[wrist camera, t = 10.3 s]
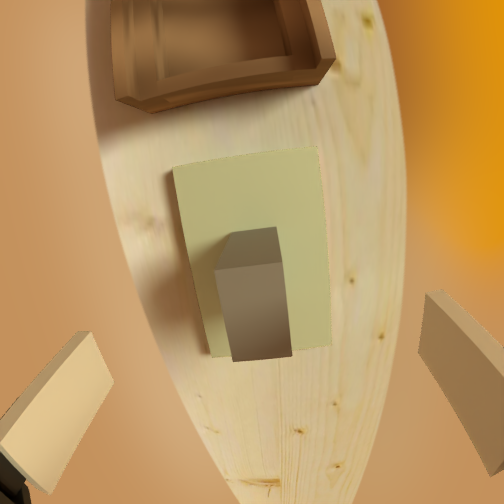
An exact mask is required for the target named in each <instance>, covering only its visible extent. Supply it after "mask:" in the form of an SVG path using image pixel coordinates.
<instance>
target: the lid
mask: <svg viewBox="0 0 504 504" xmlns="http://www.w3.org/2000/svg"><path fill="white" fill-rule="evenodd" d="M172 170H173V176H174V182H175V188H176V194H177V200H178V206H179V211H180V217H181V222H182V227H183V233H184V238H185V243H186V248H187V253H188V258H189V263H190V267H191V272H192V277H193V281H194V286H195V290H196V295H197V299H198V304H199V308H200V312H201V316H202V320H203V325H204V329H205V333H206V337H207V341H208V345H209V349H210V353H211V356H212V358H214V357H230V356H232V360H233V362H239V361H252V360H263V359H273V358H282V357H291V356H292V351H293V350H301V349H309V348H316V347H323V346H330V345H332V328H331V297H330V276H329V259H328V245H327V232H326V220H325V209H324V199H323V190H322V180H321V172H320V164H319V156H318V148H317V146H315V147H304V148H294V149H285V150H276V151H268V152H260V153H253V154H246V155H239V156H233V157H226V158H220V159H214V160H208V161H203V162H197V163H192V164H186V165H181V166H176V167H172Z"/></svg>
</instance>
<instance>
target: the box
mask: <svg viewBox="0 0 504 504" xmlns="http://www.w3.org/2000/svg"><path fill="white" fill-rule="evenodd" d="M111 47H112V66H113V80H114V92H115V100H117V101H120V102H122V103H125V104H128V105H130V106H133V107H136V108H138V109H141V110H143V111H146V112H149V113H151V114H153V113H156V112H160V111H163V110H167V109H171V108H175V107H179V106H183V105H187V104H192V103H196V102H200V101H205V100H210V99H215V98H220V97H225V96H231V95H236V94H242V93H248V92H255V91H262V90H269V89H277V88H286V87H296V86H307V85H318V84H319V83H320V81H321V80H322V78H323V77H324V76H325V74H326V73H327V71H328V70H329V68H330V67H331V65H332V64H333V62H334V61H335V60H336V54H335V50H334V46H333V42H332V39H331V35H330V31H329V27H328V24H327V20H326V17H325V13H324V10H323V7H322V3H321V0H111Z"/></svg>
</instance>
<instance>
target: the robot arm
mask: <svg viewBox="0 0 504 504" xmlns="http://www.w3.org/2000/svg"><path fill="white" fill-rule="evenodd" d="M418 353H419V355H420V356H421V358H422V359H423V361H424V362H425V364H426V365H427V367H428V369H429V370H430V372H431V373H432V375H433V376H434V378H435V380H436V381H437V383H438V384H439V386H440V387H441V389H442V391H443V392H444V394H445V396H446V397H447V399H448V401H449V402H450V404H451V406H452V407H453V409H454V411H455V412H456V414H457V416H458V418H459V419H460V421H461V423H462V425H463V426H464V428H465V430H466V432H467V433H468V435H469V437H470V439H471V441H472V443H473V445H474V446H475V448H476V450H477V452H478V454H479V456H480V458H481V460H482V462H483V463H484V466H485V467H486V470H487V472H488V474H489V476H490V477H492V476H493V475H495V474H497V473H499V472H500V471H502V470H504V347H503V346H501V344H500V343H499V342H497V340H496V339H495V338H494V337H493V336H492V335H491V334H490V333H489V332H488V331H486V329H485V328H484V327H482V325H480V324H479V323H478V322H477V321H476V320H475V319H474V318H473V317H472V316H471V315H470V314H469V313H468V312H467V311H466V310H465V309H463V308H462V307H461V306H460V305H459V304H458V303H457V302H456V301H455V300H454V299H453V298H451V297H450V296H449V295H448V294H447V293H446V292H444V290H442V289H441V290H436V291H432V292H427V293H426V294H425V305H424V314H423V322H422V330H421V337H420V343H419V349H418ZM113 384H114V380H113V378H112V376H111V374H110V372H109V370H108V368H107V366H106V364H105V362H104V360H103V357H102V356H101V353H100V351H99V349H98V346H97V344H96V342H95V339H94V337H93V335H92V332H91V331H78V332H77V333H76V334H75V335H74V336H73V337H72V338H71V339H70V340H69V341H68V343H67V344H66V345H65V346H64V347H63V348H62V349H61V350H60V351H59V352H58V353H57V354H56V355H55V357H54V358H53V359H52V360H51V361H50V362H49V363H48V364H47V365H46V367H45V368H44V369H43V370H42V371H41V372H40V374H38V376H37V377H36V378H35V379H34V380H33V381H32V383H31V384H30V385H29V386H28V387H27V388H26V389H25V391H24V392H23V393H22V394H21V395H20V397H18V398H17V399H16V401H15V402H14V403H13V404H12V406H11V407H10V408H9V409H8V410H7V412H6V414H4V415H3V417H2V418H1V419H0V504H31V499H30V493H29V489H28V487H27V486H26V485H25V484H24V482H25V480H26V479H27V480H28V481H29V482H30V483H31V484H32V485H33V486H34V487H35V488H36V489H38V490H40V491H43V492H44V493H47V494H49V495H51V494H52V492H53V490H54V488H55V486H56V484H57V482H58V480H59V478H60V477H61V475H62V473H63V471H64V469H65V467H66V466H67V464H68V462H69V460H70V458H71V456H72V455H73V452H74V451H75V449H76V447H77V446H78V444H79V442H80V440H81V438H82V437H83V435H84V433H85V431H86V429H87V428H88V426H89V424H90V423H91V421H92V419H93V418H94V416H95V414H96V412H97V411H98V409H99V407H100V406H101V404H102V402H103V401H104V399H105V397H106V396H107V394H108V392H109V391H110V389H111V387H112V386H113Z"/></svg>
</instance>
